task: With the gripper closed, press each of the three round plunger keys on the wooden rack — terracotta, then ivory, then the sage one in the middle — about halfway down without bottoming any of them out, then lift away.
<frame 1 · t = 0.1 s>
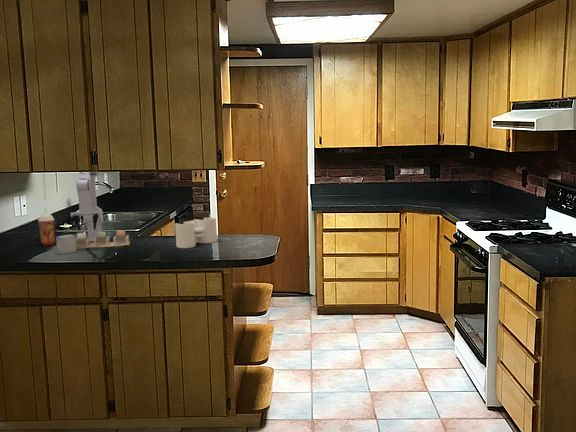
hand: (87, 229, 315), 10 cm above the worktop, fingers open, 7 cm apart
smoothie: (48, 244, 334), on the worktop
medicine box: (67, 253, 307), on the worktop
terracotta key: (120, 234, 326), point 5 cm above the worktop, slide at 0.0 cm
ivory key: (81, 237, 323), point 5 cm above the worktop, slide at 0.0 cm
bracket: (198, 244, 320), on the worktop
wooden rack: (102, 245, 325), on the worktop
sage key: (101, 236, 325), point 5 cm above the worktop, slide at 0.0 cm
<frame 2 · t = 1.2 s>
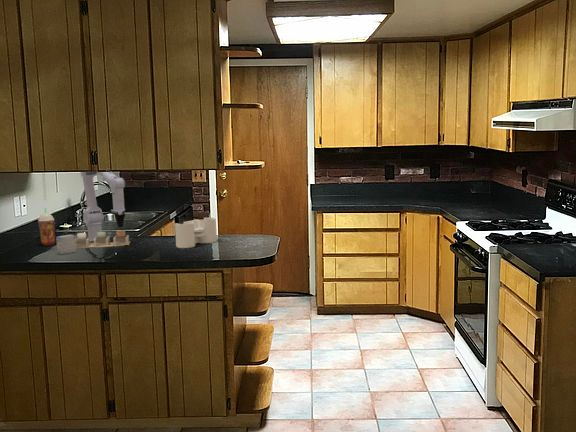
hand: (120, 226, 326), 9 cm above the worktop, fingers open, 4 cm apart
nothing on the worktop moved.
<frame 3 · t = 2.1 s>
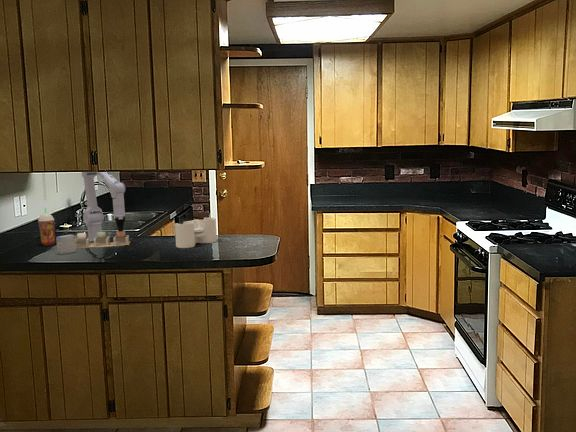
hand: (120, 231, 326), 7 cm above the worktop, fingers closed, pressing on terracotta key
terracotta key: (120, 235, 326), point 5 cm above the worktop, slide at 0.1 cm, touching gripper
everything else where it was.
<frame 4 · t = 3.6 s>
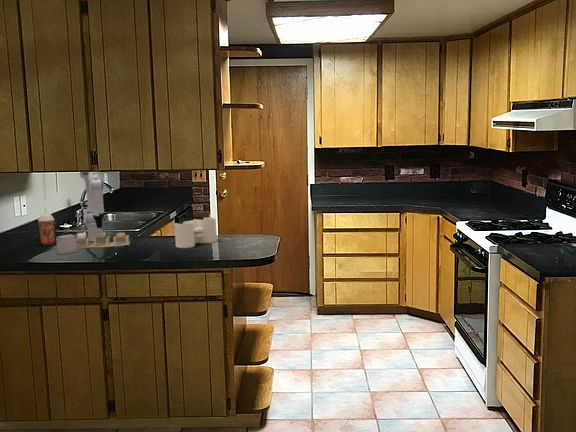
hand: (99, 228, 324), 9 cm above the worktop, fingers closed
terracotta key: (121, 237, 327), point 4 cm above the worktop, slide at 1.2 cm
everything else where it was.
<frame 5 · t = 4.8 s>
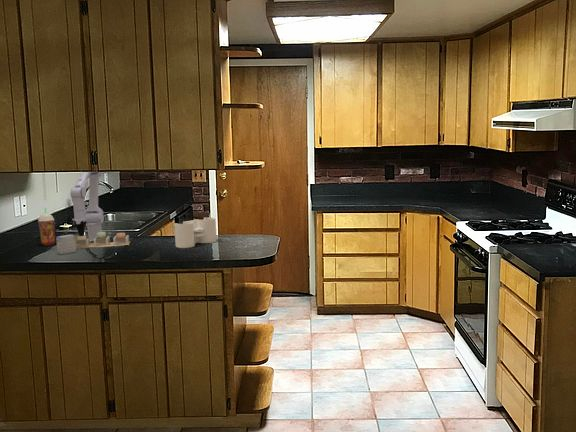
hand: (81, 235, 323), 6 cm above the worktop, fingers closed, pressing on ivory key
ivory key: (81, 239, 323), point 4 cm above the worktop, slide at 1.2 cm, touching gripper
everything else where it was.
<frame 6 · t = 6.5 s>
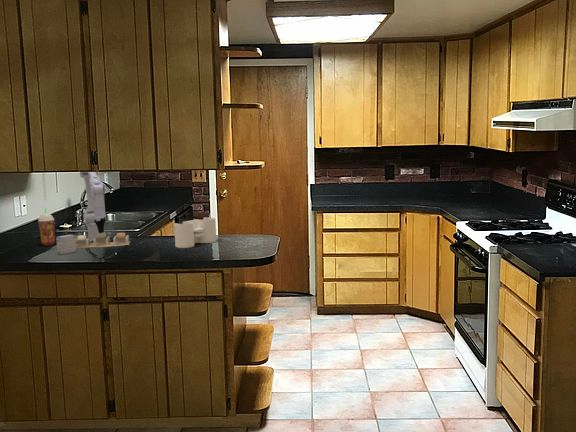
hand: (101, 232, 325), 7 cm above the worktop, fingers closed, pressing on sage key
ivory key: (81, 239, 323), point 4 cm above the worktop, slide at 1.2 cm
sage key: (101, 236, 325), point 5 cm above the worktop, slide at 0.2 cm, touching gripper
everything else where it was.
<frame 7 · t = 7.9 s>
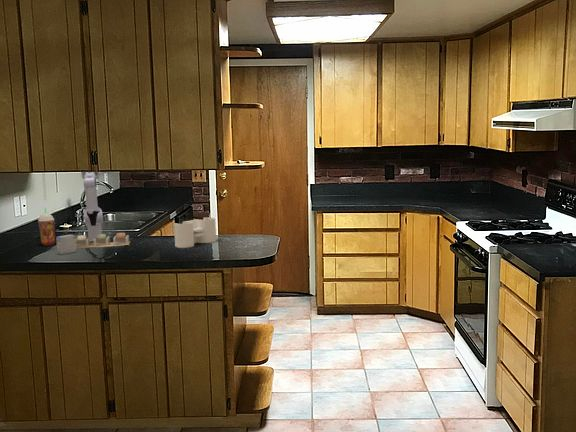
hand: (93, 225, 326), 10 cm above the worktop, fingers closed
sage key: (101, 238, 325), point 4 cm above the worktop, slide at 1.2 cm
everything else where it was.
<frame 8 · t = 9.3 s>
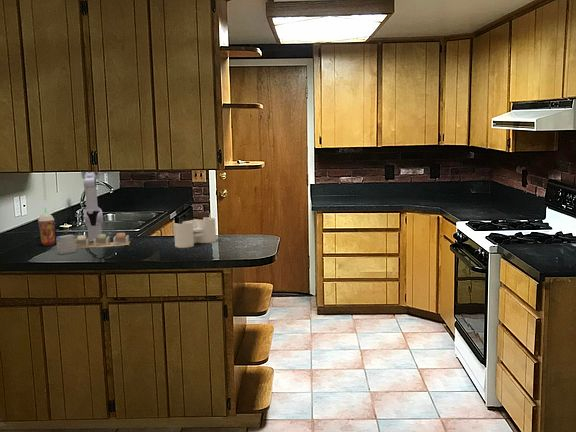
hand: (93, 225, 326), 10 cm above the worktop, fingers closed
at the end: terracotta key slide at 1.2 cm; ivory key slide at 1.2 cm; sage key slide at 1.2 cm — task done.
